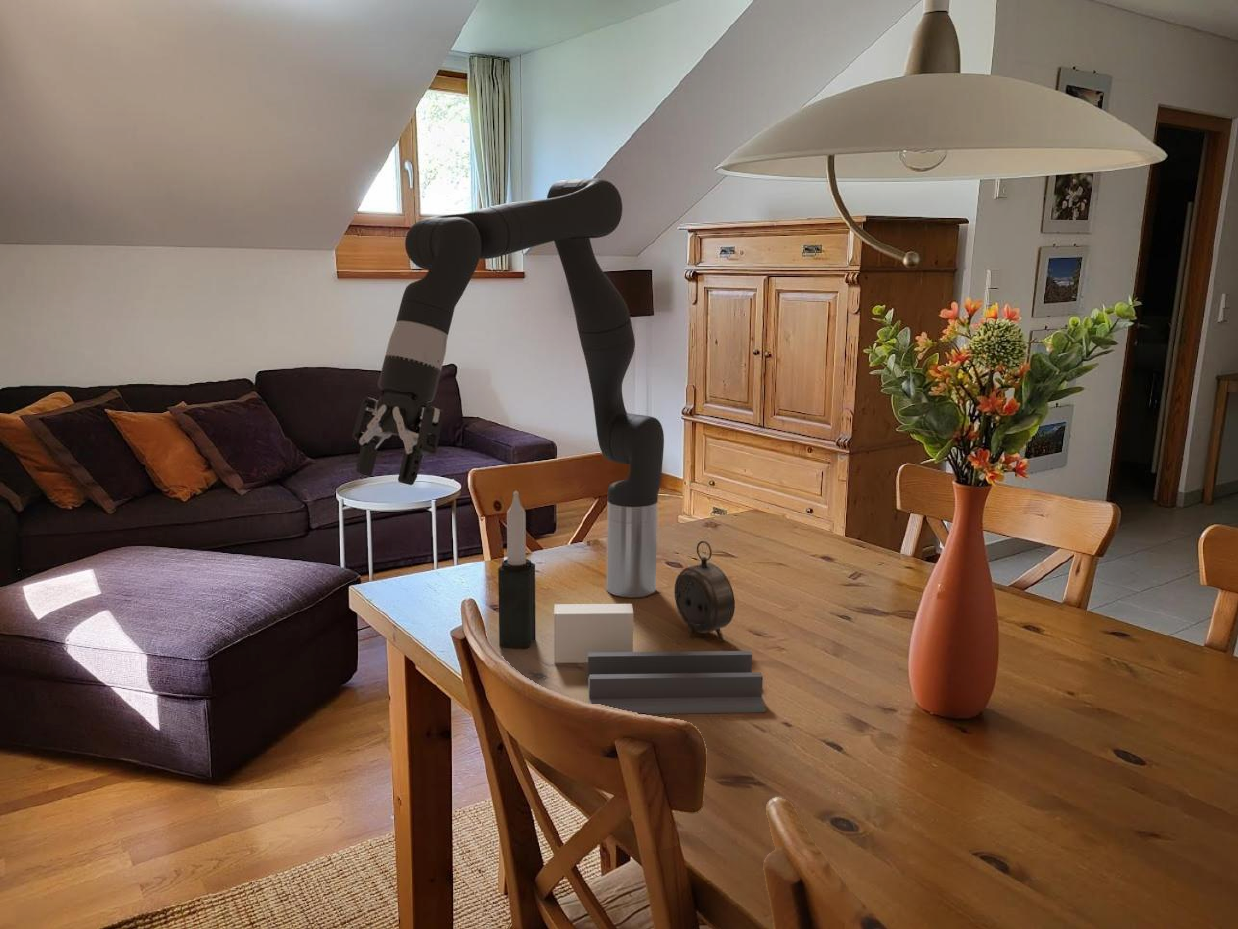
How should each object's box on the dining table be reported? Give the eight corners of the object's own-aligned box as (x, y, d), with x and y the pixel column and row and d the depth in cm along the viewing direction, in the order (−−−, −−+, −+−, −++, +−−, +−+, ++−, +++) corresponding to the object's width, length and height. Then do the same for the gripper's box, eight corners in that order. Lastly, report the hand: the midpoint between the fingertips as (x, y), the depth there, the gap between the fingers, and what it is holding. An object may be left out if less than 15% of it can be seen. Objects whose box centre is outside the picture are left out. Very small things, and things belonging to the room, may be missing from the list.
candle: (528, 649, 145) (526, 496, 140) (497, 646, 146) (494, 494, 141) (537, 637, 150) (536, 488, 145) (507, 634, 151) (505, 486, 146)
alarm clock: (735, 643, 149) (739, 546, 146) (709, 650, 146) (713, 552, 143) (692, 621, 158) (695, 530, 154) (667, 628, 155) (669, 535, 151)
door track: (587, 670, 138) (587, 645, 137) (745, 668, 140) (747, 643, 139) (589, 714, 124) (590, 687, 124) (765, 712, 126) (766, 685, 125)
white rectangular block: (554, 652, 145) (554, 604, 143) (630, 651, 145) (631, 603, 144) (554, 663, 141) (554, 613, 139) (632, 662, 142) (633, 613, 140)
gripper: (470, 373, 122) (440, 492, 121) (399, 365, 130) (371, 477, 129) (429, 356, 116) (397, 481, 114) (358, 349, 124) (327, 466, 123)
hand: (383, 479), depth 122 cm, fingers open, 8 cm apart
